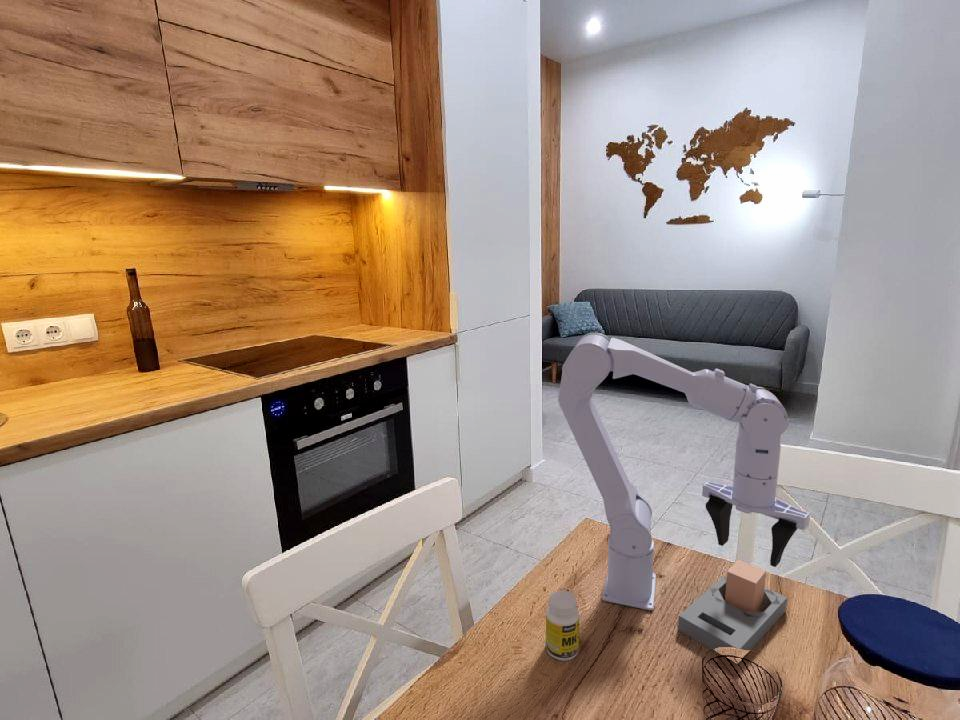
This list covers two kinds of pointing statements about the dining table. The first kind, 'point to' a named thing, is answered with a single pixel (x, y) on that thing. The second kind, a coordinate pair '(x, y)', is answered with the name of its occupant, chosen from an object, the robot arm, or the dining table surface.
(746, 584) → the peg
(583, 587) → the dining table surface
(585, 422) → the robot arm
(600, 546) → the dining table surface
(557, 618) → the supplement bottle
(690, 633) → the socket board
